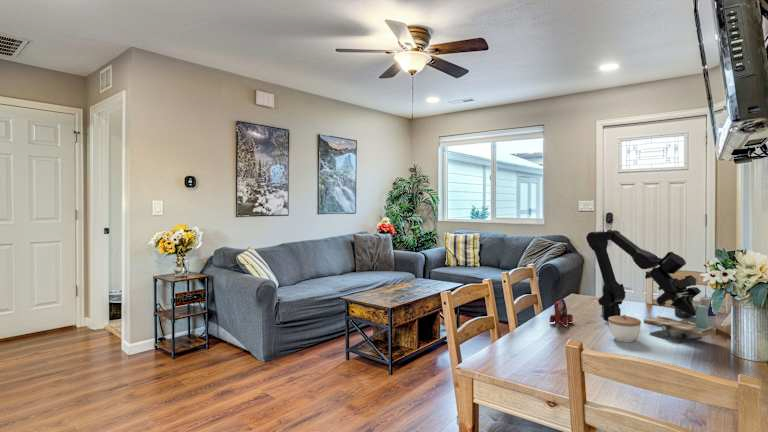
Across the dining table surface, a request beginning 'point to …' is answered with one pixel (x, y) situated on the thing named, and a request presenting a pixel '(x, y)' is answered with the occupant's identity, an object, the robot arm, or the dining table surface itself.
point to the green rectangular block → (701, 319)
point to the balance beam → (678, 326)
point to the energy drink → (711, 317)
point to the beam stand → (673, 334)
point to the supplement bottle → (682, 312)
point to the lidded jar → (624, 328)
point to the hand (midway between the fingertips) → (695, 315)
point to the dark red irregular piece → (561, 313)
